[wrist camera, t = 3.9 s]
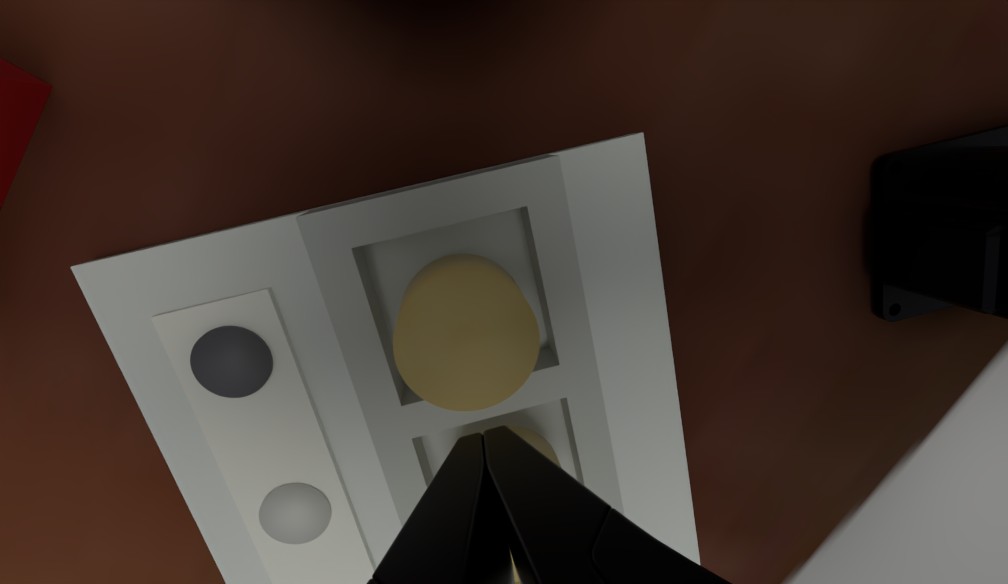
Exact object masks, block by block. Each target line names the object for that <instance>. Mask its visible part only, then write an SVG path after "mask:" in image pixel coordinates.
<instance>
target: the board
mask: <svg viewBox="0 0 1008 584" xmlns="http://www.w3.org/2000/svg"><path fill="white" fill-rule="evenodd" d="M453 254H474V255H479V256H482V257H485V258H488V259H490V260H492V261H494V262H496V263H497V264H499V265H500V266H502V267H503V268H504V269H505V270H506V271H507V272H508V273H509V274H510V275H511V276H512V278H513V279H514V281H515V282H516V284H517V285H518V287H519V289H520V290H521V292H522V294H523V295H524V297H525V299H526V300H527V302H528V304H529V305H530V307H531V308H532V310H533V312H534V315H535V317H536V319H537V323H538V326H539V333H540V348H539V355H538V358H537V362H536V364H535V367H534V369H533V371H532V373H531V374H530V376H529V378H528V379H527V380H526V382H525V383H524V384H523V386H522V387H521V388H520V389H519V390H518V391H517V392H515V393H514V394H513V395H512V396H510V397H509V398H507V399H506V400H504V401H502V402H501V403H498V404H496V405H494V406H491V407H488V408H485V409H481V410H476V411H454V410H447V409H444V408H440V407H438V406H435V405H433V404H430V403H429V402H427V401H425V400H424V399H422V398H421V397H419V396H418V395H417V394H415V393H414V392H413V391H412V390H411V389H410V388H409V386H408V385H407V384H406V382H405V381H404V380H403V378H402V376H401V374H400V373H399V370H398V368H397V365H396V362H395V358H394V352H393V336H394V331H395V326H396V322H397V318H398V314H399V310H400V306H401V302H402V298H403V295H404V292H405V290H406V288H407V286H408V284H409V283H410V281H411V280H412V278H413V277H414V276H415V275H416V274H417V273H418V271H420V270H421V269H422V268H423V267H424V266H426V265H427V264H429V263H430V262H432V261H434V260H436V259H439V258H441V257H444V256H447V255H453ZM71 270H72V272H73V274H74V276H75V278H76V280H77V282H78V284H79V286H80V288H81V290H82V292H83V294H84V296H85V298H86V300H87V302H88V304H89V306H90V308H91V310H92V312H93V314H94V316H95V318H96V320H97V322H98V324H99V326H100V328H101V330H102V332H103V334H104V337H105V339H106V341H107V343H108V345H109V347H110V349H111V351H112V353H113V355H114V357H115V359H116V361H117V363H118V365H119V367H120V369H121V371H122V373H123V375H124V377H125V379H126V381H127V383H128V385H129V387H130V389H131V391H132V393H133V395H134V397H135V399H136V402H137V404H138V406H139V408H140V410H141V412H142V414H143V416H144V418H145V420H146V422H147V424H148V426H149V428H150V430H151V432H152V434H153V436H154V438H155V440H156V442H157V444H158V446H159V448H160V450H161V452H162V454H163V456H164V458H165V460H166V462H167V464H168V467H169V469H170V471H171V473H172V475H173V477H174V479H175V481H176V483H177V485H178V487H179V489H180V491H181V493H182V495H183V497H184V499H185V501H186V503H187V505H188V507H189V509H190V511H191V513H192V515H193V517H194V519H195V521H196V523H197V525H198V527H199V529H200V531H201V534H202V536H203V538H204V540H205V542H206V544H207V546H208V548H209V550H210V552H211V554H212V556H213V558H214V560H215V562H216V564H217V566H218V568H219V570H220V572H221V574H222V576H223V578H224V580H225V582H226V584H367V582H368V581H369V579H372V575H373V573H374V571H375V570H376V568H377V567H378V565H379V563H380V562H381V560H382V559H383V557H384V556H385V554H386V552H387V551H388V549H389V548H390V546H391V544H392V543H393V541H394V540H395V538H396V537H397V535H398V533H399V532H400V530H401V529H402V527H403V525H404V524H405V522H406V521H407V519H408V517H409V516H410V514H411V513H412V511H413V510H414V508H415V506H416V505H417V503H418V502H419V500H420V498H421V497H422V495H423V494H424V492H425V491H426V489H427V487H428V486H429V484H430V483H431V481H432V479H433V478H434V476H435V475H436V473H437V472H438V470H439V468H440V467H441V465H442V464H443V462H444V460H445V459H446V457H447V456H448V454H449V453H450V451H451V449H452V448H453V446H454V445H455V443H456V441H457V440H458V439H459V438H460V437H462V436H466V435H469V434H473V433H477V432H482V431H485V430H487V429H490V428H494V427H498V426H502V425H505V426H519V427H524V428H528V429H530V430H533V431H535V432H537V433H538V434H540V435H541V436H543V437H544V438H545V439H546V440H547V441H548V442H549V443H550V444H551V446H552V447H553V449H554V451H555V453H556V455H557V458H558V460H559V463H560V465H561V468H562V469H563V470H565V471H566V472H567V473H568V474H570V475H571V476H572V477H574V478H575V479H576V480H578V481H579V482H580V483H582V484H583V485H584V486H586V487H587V488H588V489H589V490H591V491H592V492H593V493H595V494H596V495H597V496H599V497H600V498H601V499H603V500H604V501H605V502H606V503H608V504H609V505H610V506H611V507H612V508H614V509H616V510H617V511H619V512H620V513H621V514H622V515H624V516H625V517H626V518H628V519H629V520H630V521H632V522H633V523H635V524H636V525H637V526H639V527H640V528H642V529H643V530H644V531H646V532H647V533H649V534H650V535H651V536H653V537H654V538H656V539H657V540H659V541H661V542H662V543H664V544H666V545H667V546H669V547H670V548H672V549H674V550H675V551H677V552H678V553H680V554H682V555H683V556H685V557H687V558H688V559H690V560H692V561H693V562H695V563H697V564H699V565H700V558H699V551H698V543H697V536H696V528H695V520H694V513H693V505H692V498H691V490H690V482H689V475H688V467H687V460H686V452H685V445H684V437H683V429H682V422H681V414H680V407H679V399H678V391H677V384H676V376H675V369H674V361H673V354H672V346H671V338H670V331H669V323H668V316H667V308H666V300H665V293H664V285H663V278H662V270H661V263H660V255H659V247H658V240H657V232H656V225H655V217H654V209H653V202H652V194H651V187H650V179H649V172H648V164H647V156H646V149H645V141H644V134H643V133H633V134H628V135H624V136H619V137H615V138H611V139H607V140H602V141H598V142H594V143H590V144H585V145H581V146H577V147H573V148H568V149H564V150H560V151H555V152H551V153H547V154H543V155H538V156H534V157H530V158H526V159H521V160H517V161H513V162H509V163H504V164H500V165H496V166H492V167H487V168H483V169H479V170H474V171H470V172H466V173H462V174H457V175H453V176H449V177H445V178H440V179H436V180H432V181H428V182H423V183H419V184H415V185H410V186H406V187H402V188H398V189H393V190H389V191H385V192H381V193H376V194H372V195H368V196H364V197H359V198H355V199H351V200H347V201H342V202H338V203H334V204H329V205H325V206H321V207H317V208H312V209H308V210H304V211H300V212H295V213H291V214H287V215H283V216H278V217H274V218H270V219H266V220H261V221H257V222H253V223H248V224H244V225H240V226H236V227H231V228H227V229H223V230H219V231H214V232H210V233H206V234H202V235H197V236H193V237H189V238H185V239H180V240H176V241H172V242H167V243H163V244H159V245H155V246H150V247H146V248H142V249H138V250H133V251H129V252H125V253H121V254H116V255H112V256H108V257H103V258H99V259H95V260H91V261H88V262H85V263H81V264H78V265H75V266H72V267H71Z"/></svg>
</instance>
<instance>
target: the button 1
mask: <svg viewBox="0 0 1008 584" xmlns="http://www.w3.org/2000/svg"><path fill="white" fill-rule="evenodd" d="M539 348H540V333H539V326H538V323H537V319H536V317H535V315H534V312H533V310H532V308H531V307H530V305H529V304H528V302H527V300H526V299H525V297H524V295H523V294H522V292H521V290H520V289H519V287H518V285H517V284H516V282H515V281H514V279H513V278H512V276H511V275H510V274H509V273H508V272H507V271H506V270H505V269H504V268H503V267H502V266H500V265H499V264H497V263H496V262H494V261H492V260H490V259H488V258H485V257H482V256H479V255H474V254H453V255H447V256H444V257H441V258H439V259H436V260H434V261H432V262H430V263H429V264H427V265H426V266H424V267H423V268H422V269H421V270H420V271H418V273H417V274H416V275H415V276H414V277H413V278H412V280H411V281H410V283H409V284H408V286H407V288H406V290H405V292H404V295H403V298H402V302H401V306H400V310H399V314H398V318H397V322H396V326H395V331H394V336H393V352H394V358H395V362H396V365H397V368H398V370H399V373H400V374H401V376H402V378H403V380H404V381H405V382H406V384H407V385H408V386H409V388H410V389H411V390H412V391H413V392H414V393H415V394H417V395H418V396H419V397H421V398H422V399H424V400H425V401H427V402H429V403H430V404H433V405H435V406H438V407H440V408H444V409H447V410H454V411H476V410H481V409H485V408H488V407H491V406H494V405H496V404H498V403H501V402H502V401H504V400H506V399H507V398H509V397H510V396H512V395H513V394H514V393H515V392H517V391H518V390H519V389H520V388H521V387H522V386H523V384H524V383H525V382H526V380H527V379H528V378H529V376H530V374H531V373H532V371H533V369H534V367H535V364H536V362H537V358H538V355H539Z"/></svg>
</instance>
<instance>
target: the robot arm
mask: <svg viewBox="0 0 1008 584" xmlns="http://www.w3.org/2000/svg"><path fill="white" fill-rule="evenodd" d="M892 164H893V170H892V171H891V173H890V167H891V165H892ZM954 305H957V306H960V307H964V308H967V309H970V310H974V311H977V312H981V313H985V314H992V315H995V316H998V317H1002V318H1005V319H1008V124H1007V125H1003V126H999V127H995V128H991V129H987V130H983V131H979V132H975V133H971V134H967V135H963V136H959V137H954V138H950V139H946V140H942V141H938V142H934V143H930V144H926V145H922V146H918V147H914V148H910V149H906V150H901V151H897V152H893V153H889V154H886V155H884V156H882V157H881V158H880V159H879V160H878V161H877V163H876V165H875V169H874V310H875V314H876V315H877V317H879V318H882V319H884V320H887V321H890V322H893V321H898V320H902V319H906V318H909V317H913V316H917V315H920V314H924V313H928V312H932V311H935V310H939V309H943V308H947V307H950V306H954ZM891 306H892V307H891ZM890 307H891V309H890V310H889V308H890ZM511 555H512V557H511ZM512 558H513V562H514V565H515V568H516V572H517V575H518V578H519V581H520V584H732V583H730V582H728V581H726V580H725V579H723V578H721V577H719V576H718V575H716V574H714V573H712V572H711V571H709V570H707V569H706V568H704V567H702V566H700V565H699V564H697V563H695V562H693V561H692V560H690V559H688V558H687V557H685V556H683V555H682V554H680V553H678V552H677V551H675V550H674V549H672V548H670V547H669V546H667V545H666V544H664V543H662V542H661V541H659V540H657V539H656V538H654V537H653V536H651V535H650V534H649V533H647V532H646V531H644V530H643V529H642V528H640V527H639V526H637V525H636V524H635V523H633V522H632V521H630V520H629V519H628V518H626V517H625V516H624V515H622V514H621V513H620V512H619V511H617V510H616V509H614V508H612V507H611V506H610V505H609V504H608V503H606V502H605V501H604V500H603V499H601V498H600V497H599V496H597V495H596V494H595V493H593V492H592V491H591V490H589V489H588V488H587V487H586V486H584V485H583V484H582V483H580V482H579V481H578V480H576V479H575V478H574V477H572V476H571V475H570V474H568V473H567V472H566V471H565V470H563V469H562V468H561V467H559V466H558V465H557V464H555V463H554V462H553V461H551V460H550V459H549V458H548V457H546V456H545V455H544V454H542V453H541V452H540V451H538V450H537V449H536V448H534V447H533V446H532V445H530V444H529V443H528V442H527V441H525V440H524V439H523V438H521V437H520V436H519V435H517V434H516V433H515V432H513V431H512V430H511V429H510V428H508V427H507V426H505V425H502V426H498V427H495V428H491V429H487V430H485V431H484V432H483V435H482V433H480V432H477V433H473V434H469V435H466V436H462V437H460V438H459V439H458V440H457V441H456V443H455V445H454V446H453V448H452V449H451V451H450V453H449V454H448V456H447V457H446V459H445V460H444V462H443V464H442V465H441V467H440V468H439V470H438V472H437V473H436V475H435V476H434V478H433V479H432V481H431V483H430V484H429V486H428V487H427V489H426V491H425V492H424V494H423V495H422V497H421V498H420V500H419V502H418V503H417V505H416V506H415V508H414V510H413V511H412V513H411V514H410V516H409V517H408V519H407V521H406V522H405V524H404V525H403V527H402V529H401V530H400V532H399V533H398V535H397V537H396V538H395V540H394V541H393V543H392V544H391V546H390V548H389V549H388V551H387V552H386V554H385V556H384V557H383V559H382V560H381V562H380V563H379V565H378V567H377V568H376V570H375V571H374V573H373V575H372V579H369V581H368V582H367V584H515V581H514V571H513V563H512Z"/></svg>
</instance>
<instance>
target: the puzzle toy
mask: <svg viewBox="0 0 1008 584" xmlns="http://www.w3.org/2000/svg"><path fill="white" fill-rule="evenodd" d="M52 87H53V86H51V85H49V84H47V83H45V82H44V81H42V80H40V79H38V78H36V77H35V76H33V75H31V74H29V73H27V72H26V71H24V70H22V69H20V68H18V67H16V66H15V65H13V64H11V63H9V62H7V61H6V60H4V59H2V58H0V209H1V207H2V204H3V202H4V200H5V197H6V195H7V193H8V190H9V188H10V186H11V183H12V181H13V178H14V176H15V174H16V171H17V169H18V167H19V164H20V162H21V160H22V157H23V155H24V153H25V150H26V148H27V145H28V143H29V141H30V138H31V136H32V134H33V131H34V129H35V127H36V124H37V122H38V120H39V117H40V115H41V112H42V110H43V108H44V105H45V103H46V101H47V98H48V96H49V94H50V91H51V89H52Z"/></svg>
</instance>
